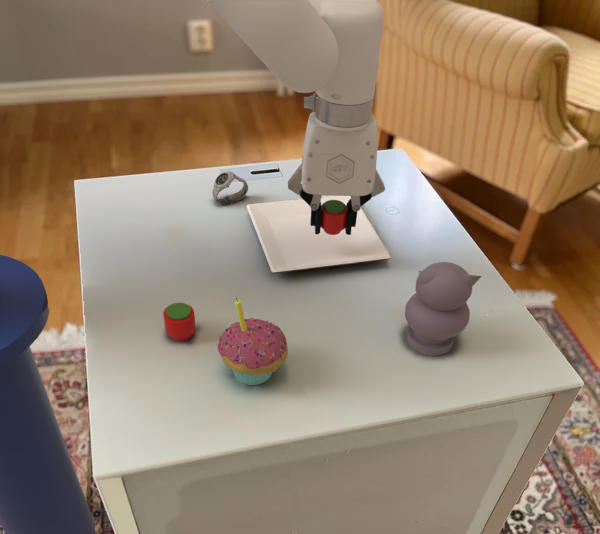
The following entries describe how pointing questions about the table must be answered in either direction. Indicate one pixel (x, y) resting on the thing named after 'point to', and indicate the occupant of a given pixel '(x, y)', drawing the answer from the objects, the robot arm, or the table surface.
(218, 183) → the wristwatch
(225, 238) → the table surface
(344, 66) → the robot arm
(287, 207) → the plate
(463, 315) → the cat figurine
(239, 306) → the cupcake
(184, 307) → the green-lidded red jar
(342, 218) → the red cylinder green top
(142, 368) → the table surface
